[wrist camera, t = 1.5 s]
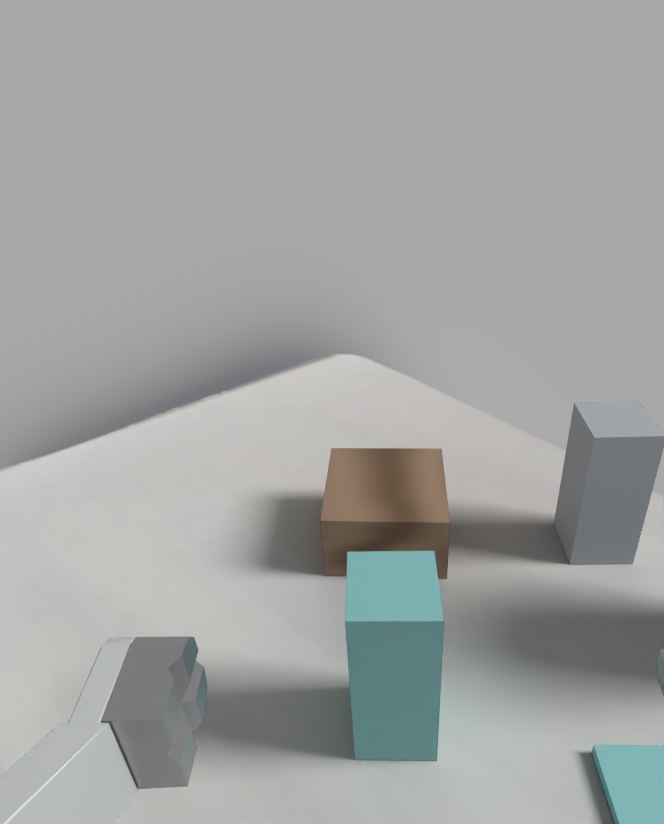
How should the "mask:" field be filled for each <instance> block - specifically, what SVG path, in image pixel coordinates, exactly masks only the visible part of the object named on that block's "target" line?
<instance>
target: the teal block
mask: <svg viewBox="0 0 664 824" xmlns="http://www.w3.org/2000/svg"><path fill="white" fill-rule="evenodd" d="M345 628H346V642H347V656H348V670H349V684H350V698H351V712H352V726H353V740H354V754H355V760H412V761H437V750H438V730H439V710H440V691H441V671H442V651H443V631H444V617H443V610H442V603H441V596H440V588H439V581H438V574H437V567H436V559H435V552H434V551H367V552H347V579H346V608H345Z"/></svg>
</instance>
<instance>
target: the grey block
mask: <svg viewBox="0 0 664 824" xmlns="http://www.w3.org/2000/svg"><path fill="white" fill-rule="evenodd" d="M663 448H664V432H663V431H662V430H661V428H660V427H659V425H658V424H657V423H656V422H655V420H654V419H653V418H652V416H651V415H650V414H649V413H648V411H647V410H646V409H645V407H644V406H643V405H642V404H641V402H640V401H625V402H622V401H621V402H585V403H574V407H573V413H572V419H571V425H570V431H569V437H568V443H567V449H566V455H565V461H564V467H563V473H562V479H561V485H560V491H559V496H558V502H557V508H556V514H555V520H554V525H555V528H556V530H557V533H558V535H559V538H560V540H561V543H562V545H563V548H564V550H565V553H566V555H567V558H568V560H569V563H570V564H633V561H634V557H635V553H636V550H637V546H638V542H639V538H640V535H641V531H642V527H643V523H644V520H645V516H646V512H647V508H648V505H649V501H650V497H651V493H652V490H653V485H654V482H655V478H656V474H657V470H658V467H659V463H660V459H661V455H662V452H663Z"/></svg>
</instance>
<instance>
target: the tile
mask: <svg viewBox="0 0 664 824" xmlns="http://www.w3.org/2000/svg"><path fill="white" fill-rule="evenodd" d="M592 754H593V758H594V761H595V764H596V767H597V770H598V773H599V776H600V779H601V782H602V786H603V789H604V792H605V795H606V798H607V801H608V804H609V807H610V810H611V814H612V817H613V820H614V823H615V824H664V746H641V745H594V746H593V749H592Z"/></svg>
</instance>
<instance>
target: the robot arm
mask: <svg viewBox="0 0 664 824" xmlns="http://www.w3.org/2000/svg"><path fill="white" fill-rule="evenodd" d="M197 653H198V647H197V644H196V641H195V639H194V637H132V638H109V639H108V640H107V641H106V642H105V643H104V644H103V645H102V647H101V649H100V651H99V653H98V656H97V658H96V660H95V663H94V665H93V667H92V669H91V672H90V674H89V676H88V679H87V681H86V683H85V686H84V688H83V690H82V692H81V695H80V697H79V699H78V702H77V704H76V706H75V709H74V711H73V713H72V715H71V718H70V720H69V722H68V724H59V725H58V726H57V727H56V728H55V729H53V730H52V731H51V732H50V733H49V734H48V735H47V736H46V737H45V738H43V739H42V740H41V741H40V742H39V743H38V744H37V745H36V746H35V747H33V748H32V749H31V750H30V751H29V752H28V753H27V754H26V755H25V756H23V757H22V758H21V759H20V760H19V761H18V762H17V763H16V764H15V765H13V766H12V767H11V768H10V769H9V770H8V771H7V772H6V773H5V774H3V775H2V776H1V777H0V824H114V823H115V822H116V821H117V819H118V818H119V817H120V815H121V814H122V813H123V812H124V810H125V809H126V808H127V806H128V805H129V804H130V803H131V801H132V800H133V799H134V797H135V796H136V795H137V793H138V789H146V788H166V787H185V786H188V783H189V779H190V774H191V770H192V766H193V761H194V757H195V753H196V749H197V746H196V743H195V740H194V737H193V734H192V733H193V732H194V731H195V730H196V729H197V728H198V727H199V726H200V724H201V723H202V722H203V718H204V713H205V708H206V697H207V683H206V675H205V671H204V668H203V666H202V665H200V664H199V663H198V662H196V657H197ZM657 671H658V680H659V684H660V687H661V690H662V693H663V696H664V648H663V649H662V650H660V652H659V657H658V662H657Z"/></svg>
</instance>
